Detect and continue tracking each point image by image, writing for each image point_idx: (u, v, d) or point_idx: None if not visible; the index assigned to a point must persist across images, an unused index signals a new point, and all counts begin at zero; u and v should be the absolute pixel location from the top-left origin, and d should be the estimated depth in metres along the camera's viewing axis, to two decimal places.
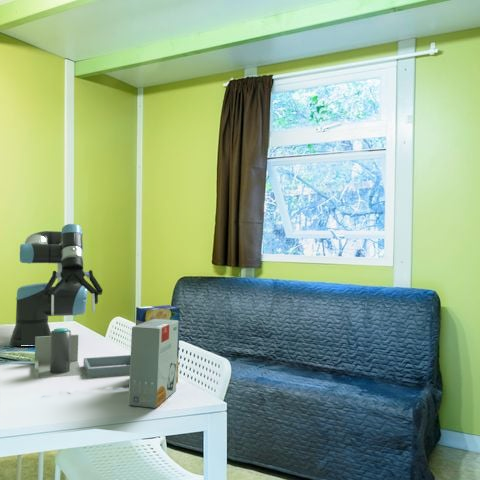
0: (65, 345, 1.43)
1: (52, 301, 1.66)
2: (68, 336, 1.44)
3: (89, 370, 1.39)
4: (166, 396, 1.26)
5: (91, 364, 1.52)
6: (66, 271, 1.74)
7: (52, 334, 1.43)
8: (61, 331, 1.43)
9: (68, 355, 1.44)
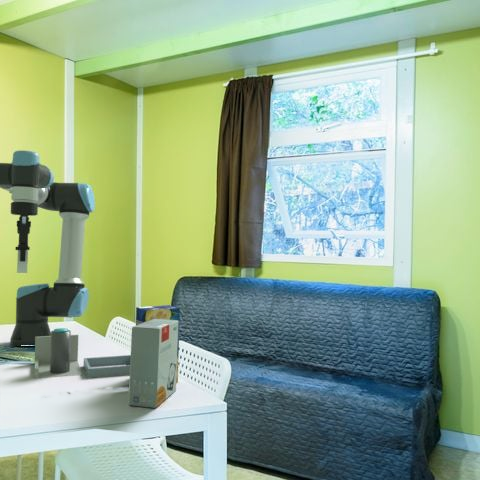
0: (65, 345, 1.43)
1: None
2: (68, 336, 1.44)
3: (89, 370, 1.39)
4: (166, 396, 1.26)
5: (91, 364, 1.52)
6: None
7: (52, 334, 1.43)
8: (61, 331, 1.43)
9: (68, 355, 1.44)
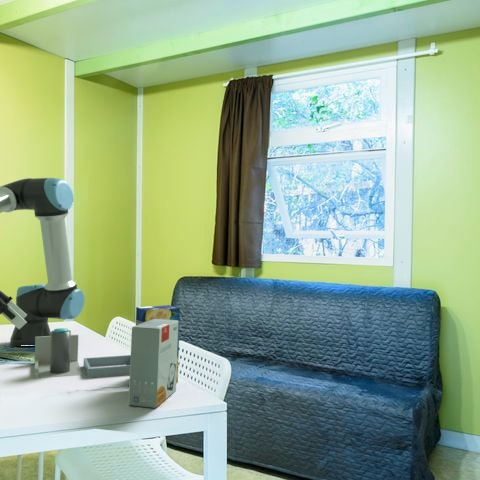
0: (65, 345, 1.43)
1: None
2: (68, 336, 1.44)
3: (89, 370, 1.39)
4: (166, 396, 1.26)
5: (91, 364, 1.52)
6: None
7: (52, 334, 1.43)
8: (61, 331, 1.43)
9: (68, 355, 1.44)
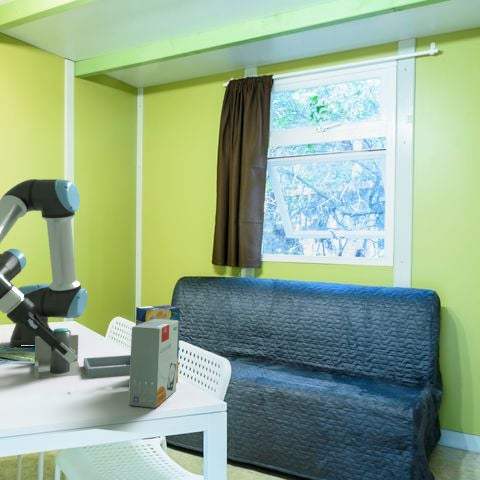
0: (65, 345, 1.43)
1: None
2: (68, 336, 1.44)
3: (89, 370, 1.39)
4: (166, 396, 1.26)
5: (91, 364, 1.52)
6: None
7: (52, 334, 1.43)
8: (61, 331, 1.43)
9: None
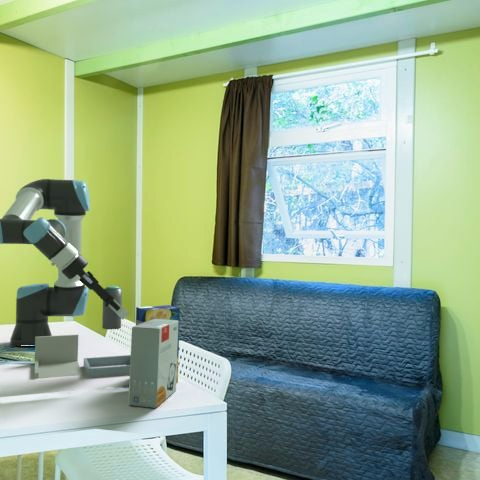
0: (117, 301, 1.46)
1: None
2: (120, 293, 1.47)
3: (89, 370, 1.39)
4: (166, 396, 1.26)
5: (91, 364, 1.52)
6: None
7: None
8: (113, 288, 1.46)
9: None
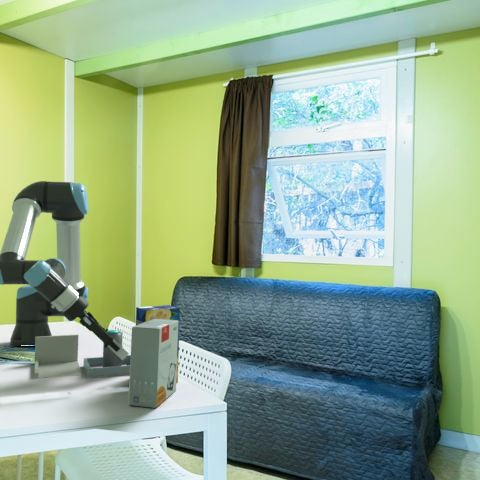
0: None
1: None
2: (120, 337, 1.47)
3: (89, 370, 1.39)
4: (166, 396, 1.26)
5: (91, 364, 1.52)
6: None
7: None
8: (114, 333, 1.47)
9: None
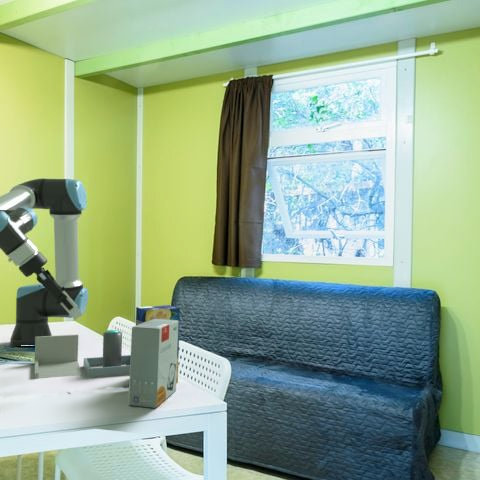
0: (117, 346, 1.46)
1: None
2: (120, 337, 1.47)
3: (89, 370, 1.39)
4: (166, 396, 1.26)
5: (91, 364, 1.52)
6: None
7: (105, 335, 1.46)
8: (114, 333, 1.47)
9: (120, 356, 1.48)
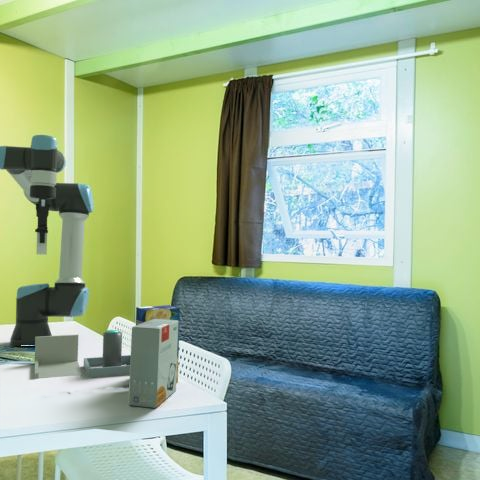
0: (117, 346, 1.46)
1: None
2: (120, 337, 1.47)
3: (89, 370, 1.39)
4: (166, 396, 1.26)
5: (91, 364, 1.52)
6: None
7: (105, 336, 1.46)
8: (113, 333, 1.47)
9: (120, 356, 1.48)
